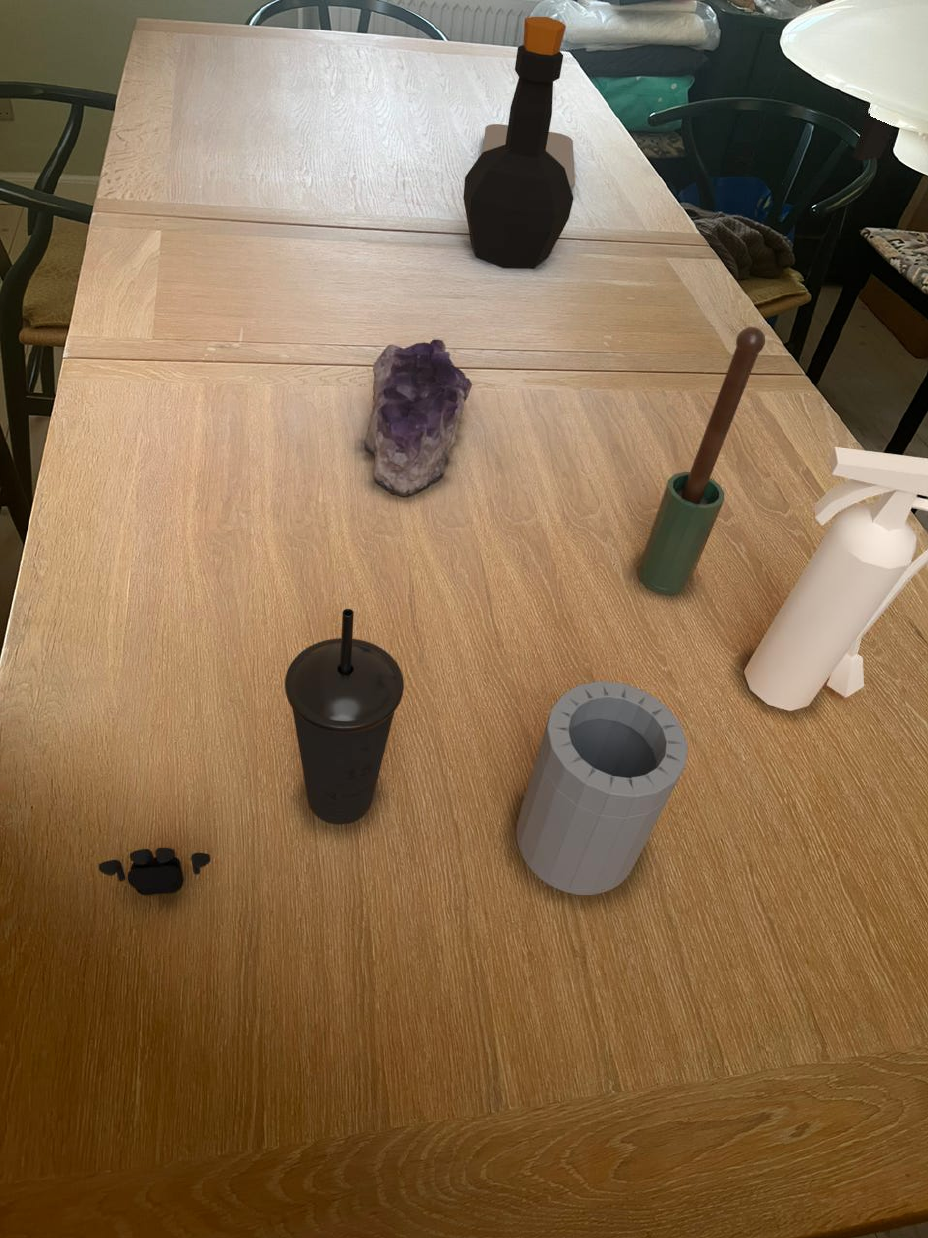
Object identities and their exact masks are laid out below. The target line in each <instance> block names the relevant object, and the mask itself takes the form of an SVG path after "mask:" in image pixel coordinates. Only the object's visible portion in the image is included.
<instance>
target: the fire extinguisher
mask: <svg viewBox="0 0 928 1238" xmlns="http://www.w3.org/2000/svg"><path fill="white" fill-rule="evenodd" d="M828 460H829V466H830V472H831V475H833V476H837V477H842V478H845V479H849V480H847V481H845V482H843V483H841V484H838V485H836V486H834V487H832V488H829V490H828V491H827V492H826V493H825V494H824V495H822V497H820V498H819V499H818V501H816V502H815V503H814V505H813V507H814V517H815V519H816V520H817V522H818V523H819V524H820V526H821V527H822V526H824V525H826V524H827V523H828V521H830V520H831V519H832V518H833V517H834V519H833V521H832V523H831V524H830V526H829V527H828V529H827V531H826V532H825V534H824V536H823V538H822V539H821V541H820V542H819V544H818V546H817V547H816V549H815V551H814V552H813V554H812V556H811V557H810V559H809V561H808V562H807V564H806V566H805V568H804V569H803V571H802V573H801V574H800V576H799V577H798V579H797V581H796V583H795V584H794V586H793V587H792V589H791V591H790V593H789V594H788V596H787V598H786V599H785V601H784V603H783V604H782V606H781V607H780V609H779V611H778V612H777V614H776V616H775V618H774V619H773V621H772V622H771V624H770V626H769V628H768V629H767V631H766V632H765V634H764V635H763V637H762V639H761V641H760V643H759V644H758V645H757V647H756V649H755V651H754V652H753V654H752V656H751V658H750V659H749V661H748V662H747V664H746V667H745V669H744V670H743V673H744V677H745V679H746V682H747V685H748V687H749V690H750V691H751V692H752V693H753V694H755V695H756V697H758V698H759V699H760V700H761V701H763V702H764V703H765V704H766V705H768V706H771V707H774V708H777V709H781V710H785V711H788V712H792V711H796V710H799V709H802V708H803V709H804V708H807V707H809V706H810V704H811V703H812V701H814V699H815V697H816V696H817V695H818V694H819V692H820V690H822V688H823V686H824V685H825V684H826V686H827V687H829V688H830V689H832V690H833V691H834V692H836V693H838V694H839V695H840V696H842V697H843V698H845V699H847V698H848V697H850V696H851V695H853V694H854V693H856V692H857V691H859V690H861V689H862V688H864V687H865V682H864V681H865V677H864V676H865V675H864V657H863V656H861V655H860V654H859V651H860V646H861V643H862V639H863V637H864V636H865V635H866V634H867V633H868V631H869V630H870V629H871V628H872V627H873V625H874V624H875V623H876V622H877V620H878V619H879V618H880V617H881V615H883V613H884V612H885V611H886V609H887V608H889V606H890V605H891V603H892V602H893V601H894V600H895V599H896V598H897V597H898V595H899V594H900V593H901V591H902V590H903V589H904V588H905V587H906V585H907V584H908V583H910V581H911V580H912V579H913V577H914V576H915V575H917V573H918V572H920V571H921V570H922V569H923V568H924V567H925V566H927V564H928V548H927V549H926V550H925V551H923V552H922V553H921V554H920V555H919V556H918V557H917V558H915V560H914V561H913V562H912V560H913V557H914V556H915V552H916V549H917V540H918V539H917V537H918V536H917V534H915V533H916V532H915V531H914V529H913V528H912V526H911V524H910V523H909V521H908V520H907V519H908V517H909V515H910V513H911V510H912V509H916V510H920V511H925V512H928V499H927V498H922V497H919V496H923V497H928V458H925V457H919V456H910V455H903V454H896V453H895V454H894V453H888V452H887V453H886V452H880V451H872V450H871V451H870V450H863V449H855V448H849V447H840V446H834V448H833V450H832V451H831V453H830V454H829V456H828ZM878 495H881V496H880V497H879V498H878V500H877V501H876V502H875V503H870V502H865V503H863V502H862V501H863V500H865V499H867V498H872V497H874V496H875V497H876V496H878ZM918 495H919V496H918ZM859 502H862V503H859ZM856 503H859V504H856Z"/></svg>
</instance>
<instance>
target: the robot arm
mask: <svg viewBox="0 0 928 1238" xmlns="http://www.w3.org/2000/svg"><path fill="white" fill-rule="evenodd" d="M865 107H867V108H869V109H871V108H870V104H869V102H867V101H865ZM894 127H895V125H894V126H891V125H889V124H887V123H885V122H882V121H880V120H877V119H876V118H873V117H871V116H870V113H869V112H868V115H867V117H866V119H865V122H864V124H863V126H862V129H861V132H860V134H859V136H858V139H857V142H856V144H855V147H854V149H853V151H852V154H851V158H852V159H854V160H856V161H864V160H865V161H866V160H875V159H880V158H882V156H883V152H884V151H885V148H886V146H887V143H888V141H889V140H890V136H891V134H892V132H893V129H894Z"/></svg>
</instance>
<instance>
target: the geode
mask: <svg viewBox="0 0 928 1238" xmlns="http://www.w3.org/2000/svg"><path fill="white" fill-rule="evenodd" d="M446 349H447V348H446V344H445V342H444V341H443V340H442V339H439V338H438V339H432V340H431V341H430V342H426V341H425V342H424V341H423V342H417V343H415V344H412V345H410V346H407V347H404V348H403V347H401V346H398V345H396V344H388V345H387V346H386V348H384V349H383V351H382V352H381V353H380V355H379V356H378V357H377V359H376V361H374V362H373V367H372V372H373V385H372V391H373V396H372V399H373V405H372V410H371V413H370V415H369V416H370V417H369V425H368V429H367V434H366V437H365V439H364V449H365V450H366V451H368V452H369V453H370V454H372V455H373V457H374V463H373V478H374V483H375V484H376V485H378V486H379V487H381V488H382V489H384V490H385V491H386V492H388V493H390V494H391V495H395V496H396V495H397V496H399V497H401V498H408V497H410V496H414V495H417V494H418V493H421V491H424V490H426V489H428V488H429V487H431V485H433V484H436V483H437V482H438V481H440V480H441V479H442V478H443V477H444V475H445V472H446V468H447V466H448V464H449V462H450V455H451V450H452V447H453V445H454V444H456V439H457V431H458V428H459V422H460V421H461V420H462V418H463V415H464V408H465V402H466V401H467V399H468V398H469V393H470V391H471V389H472V386H473V383H472V381H471V380H470V378H467V376H466V375H465V373H464V372H463V371H462V370H461V369H460V368H459V367H456V366H455V364H454V363H453V361H452V359H451V358H450V356H451V354H450V352H449V351H446Z"/></svg>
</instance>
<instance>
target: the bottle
mask: <svg viewBox="0 0 928 1238" xmlns="http://www.w3.org/2000/svg"><path fill="white" fill-rule="evenodd" d="M566 28H567V25H565V23H563V21H560V20H557V19H555V18H552V17H549V16H529V17H525V18H524V26H523V29H524V30H523V44H522V45H519V46H517V52H516V57H515V58H516V59H515V63H514V64H515V65H514V71H515V73H516V74H517V77H518V80H517V83H516V87H515V91H514V94H513V97H512V101H511V104H510V109H509V116H508V123H507V125H508V129H507V136H506V143H505V145H502V146H499V147H497V148H494V149H491V150H488V151H485V152H482V151H481V154H480V155H479V156H478V158H477V159H476V161H475V162H474V164H473V165H472V167H471V168H470V170H469V171H468V172H467V174H466V175H465V177H464V184H463V195H462V196H463V204H464V211H465V216H466V222H467V228H468V234H469V241H470V244H471V247H472V250H473V252H474V254H475V257H476V258H479V259H481V260H483V261H485V262H488V263H491V264H493V265H495V266H497V267H500V268H502V269H535V268H536V267H538V266H539V265H541V264H542V263H543V262H545V261H546V260H548V259H549V257H550V255H551V253H552V251H553V249H554V247H555V245H556V243H557V241H558V240H559V238H560V237H561V234H562V232H563V230H564V229H565V227H566V225H567V223H568V222H569V219H570V215H571V212H572V208H573V204H574V203H573V202H574V200H575V199H574V195H573V191H572V189H571V188H570V185H569V181H568V178H567V175H566V171H565V168H564V167H563V166H562V165H561V164H560V163H559V162H558V161H557V160H556V159H555V158H554V157H553V156H551V155H550V154H549V153H548V152H547V151H546V145H547V140H548V134H549V132H550V128H551V123H552V117H553V116H552V115H553V100H554V99H553V97H554V94H553V93H554V82H555V81H557V80H559V79H560V77H561V71H562V66H563V60H564V54H563V53H562V52H561V51H560V50H561V45H562V42H563V38H564V35H565V31H566Z"/></svg>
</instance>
